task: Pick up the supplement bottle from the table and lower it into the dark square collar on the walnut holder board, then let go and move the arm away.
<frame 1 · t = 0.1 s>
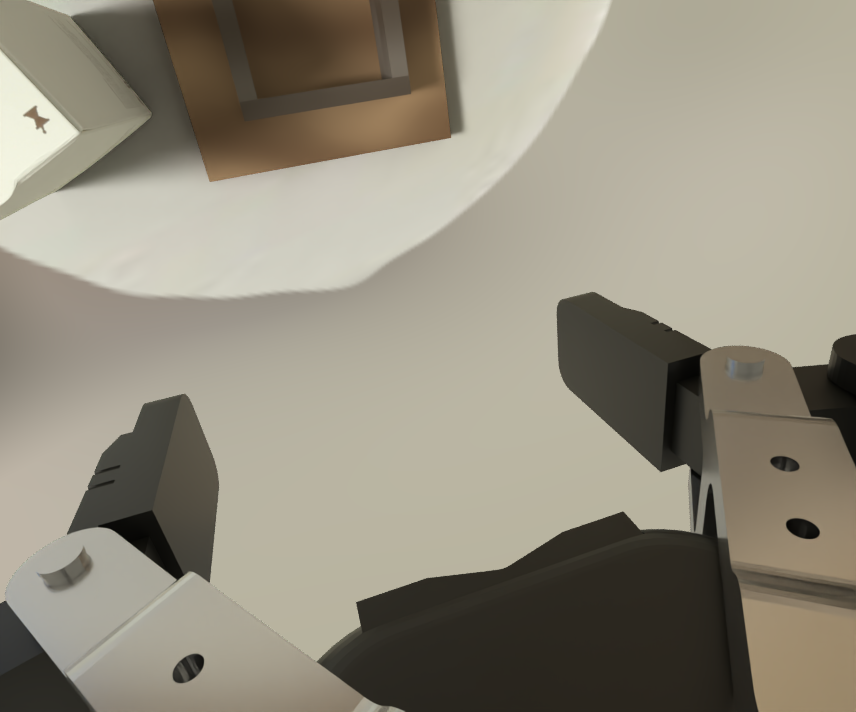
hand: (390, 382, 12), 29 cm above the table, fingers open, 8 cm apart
cup holder: (303, 19, 33), on the table
skincare box: (62, 113, 32), on the table
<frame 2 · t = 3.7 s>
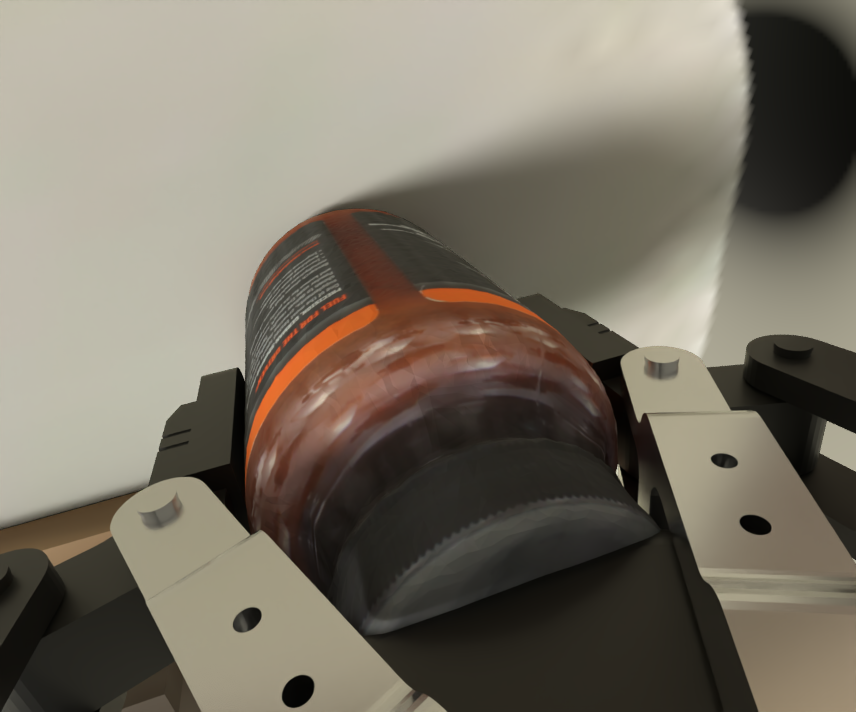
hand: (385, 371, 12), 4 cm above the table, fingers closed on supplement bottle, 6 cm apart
supplement bottle: (353, 306, 16), on the table, touching gripper
cup holder: (86, 707, 19), on the table
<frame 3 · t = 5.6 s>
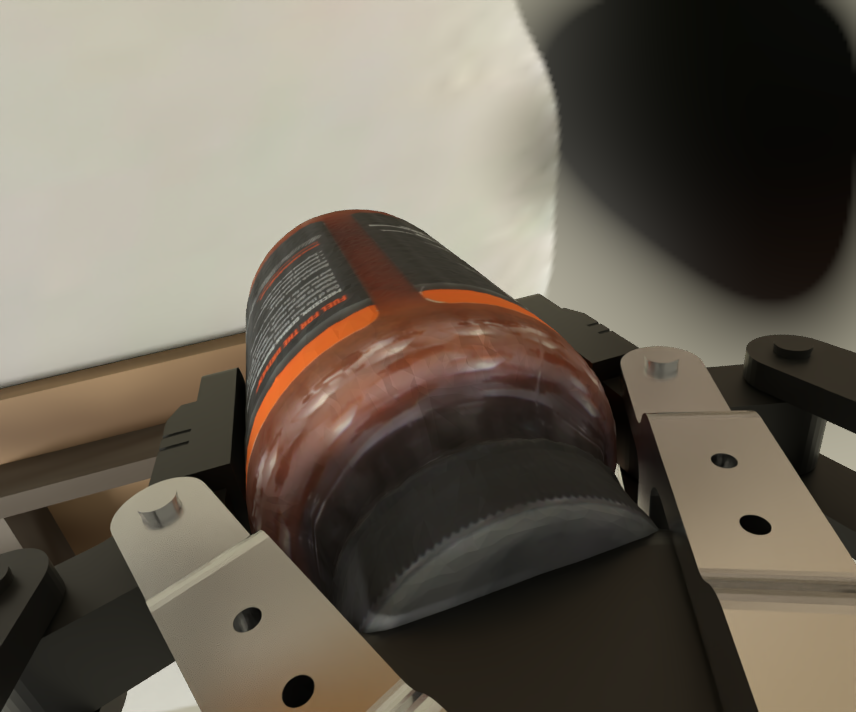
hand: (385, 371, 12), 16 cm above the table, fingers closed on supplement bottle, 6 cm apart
supplement bottle: (353, 307, 16), point 12 cm above the table, touching gripper
cup holder: (151, 497, 30), on the table
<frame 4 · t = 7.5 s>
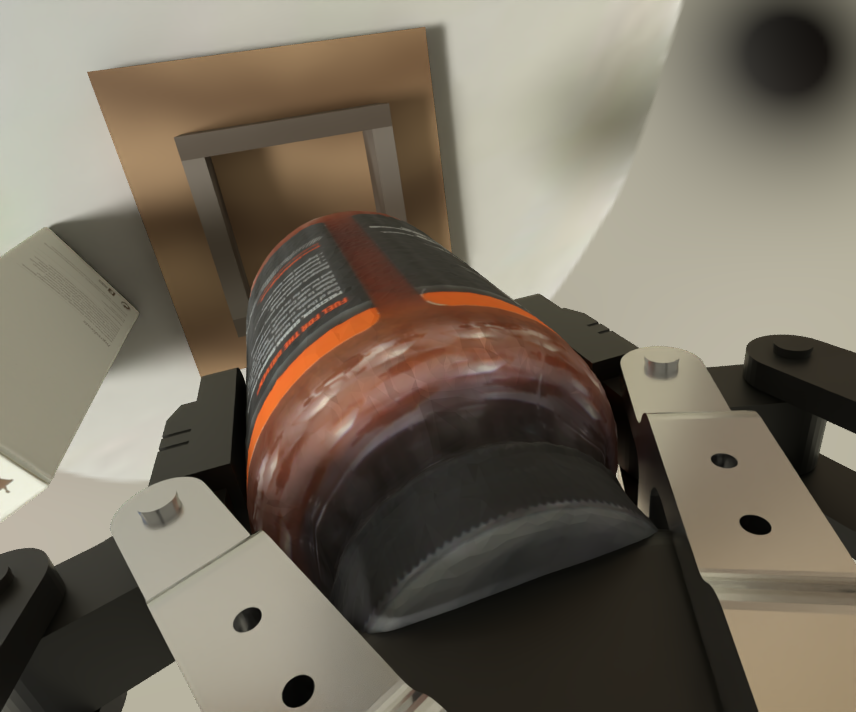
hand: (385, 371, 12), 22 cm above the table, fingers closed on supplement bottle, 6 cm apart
supplement bottle: (354, 308, 16), point 17 cm above the table, touching gripper
cup holder: (303, 210, 31), on the table
skincare box: (42, 317, 30), on the table
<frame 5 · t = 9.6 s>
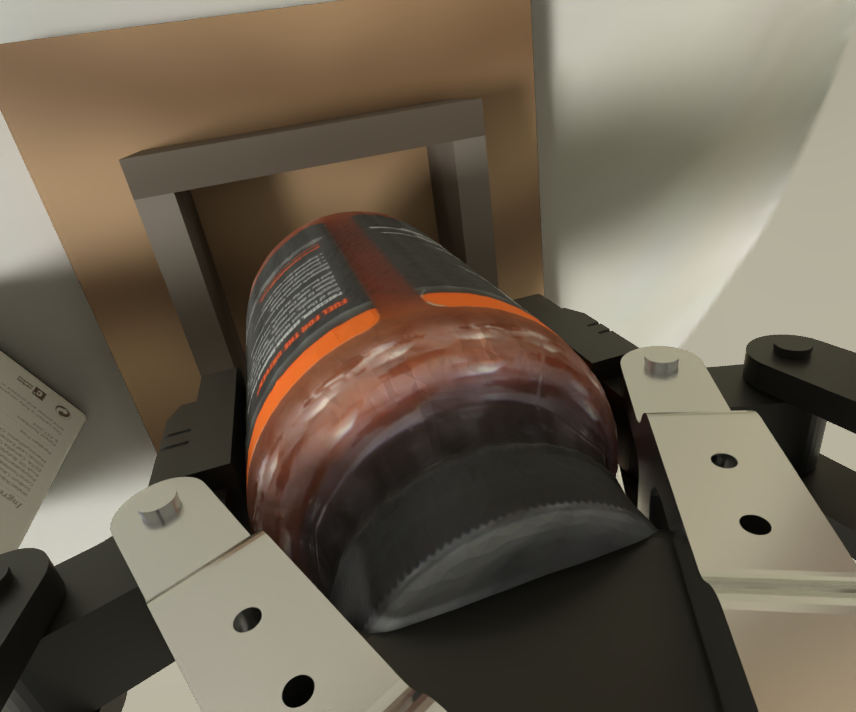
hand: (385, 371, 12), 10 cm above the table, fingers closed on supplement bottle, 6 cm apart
supplement bottle: (354, 309, 16), point 6 cm above the table, touching gripper
cup holder: (331, 260, 21), on the table
when the fingers open (7 cm above the table, at t = 11.2 s): supplement bottle drops 1 cm, resting on cup holder.
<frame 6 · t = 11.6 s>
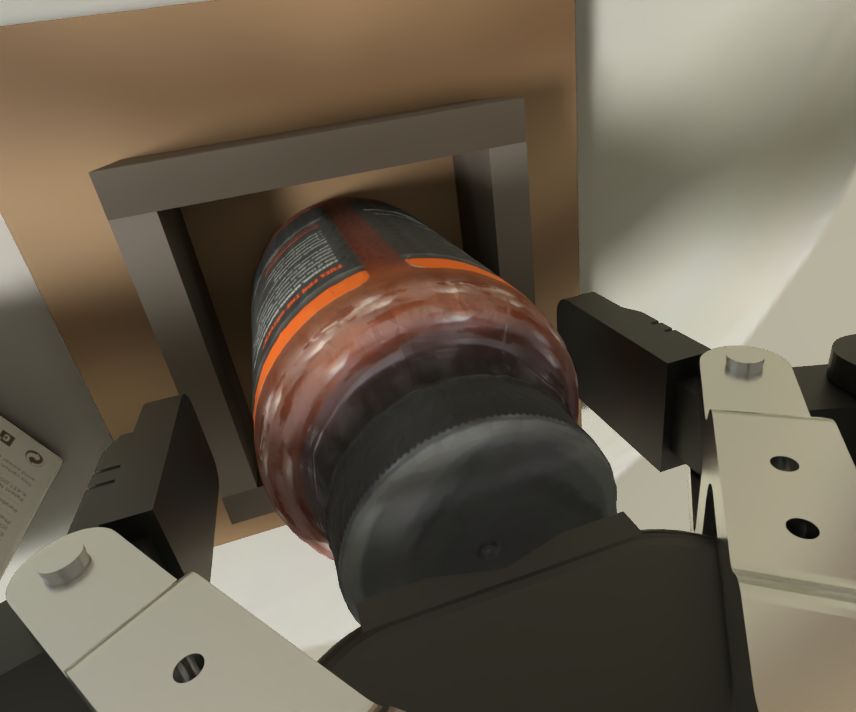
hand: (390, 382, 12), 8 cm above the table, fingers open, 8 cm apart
supplement bottle: (350, 289, 17), point 1 cm above the table, touching cup holder
cup holder: (341, 281, 18), on the table
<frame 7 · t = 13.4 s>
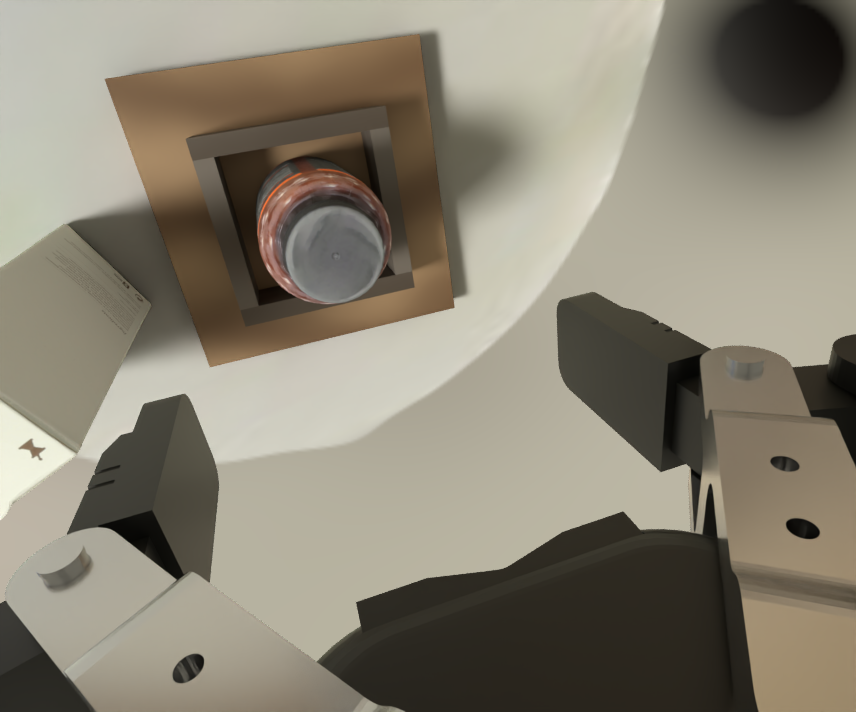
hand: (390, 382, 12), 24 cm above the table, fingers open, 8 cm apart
supplement bottle: (309, 209, 32), point 1 cm above the table, touching cup holder
cup holder: (305, 207, 33), on the table
skincare box: (60, 309, 32), on the table
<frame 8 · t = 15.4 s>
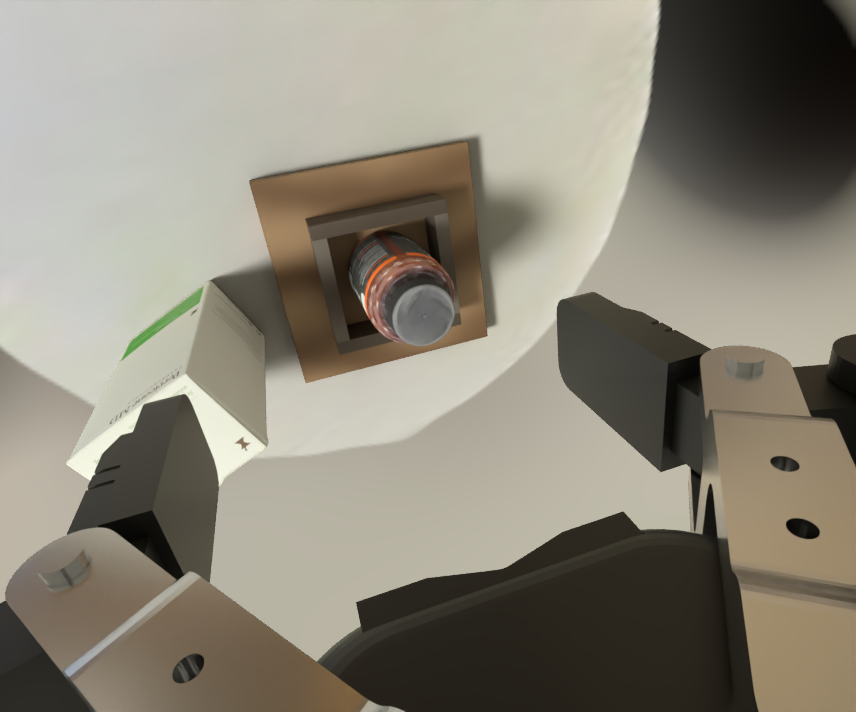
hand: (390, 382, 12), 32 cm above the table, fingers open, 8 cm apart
supplement bottle: (383, 266, 43), point 1 cm above the table, touching cup holder
cup holder: (379, 263, 44), on the table
skincare box: (199, 341, 43), on the table
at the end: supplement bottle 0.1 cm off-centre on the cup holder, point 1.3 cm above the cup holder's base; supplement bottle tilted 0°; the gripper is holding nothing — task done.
